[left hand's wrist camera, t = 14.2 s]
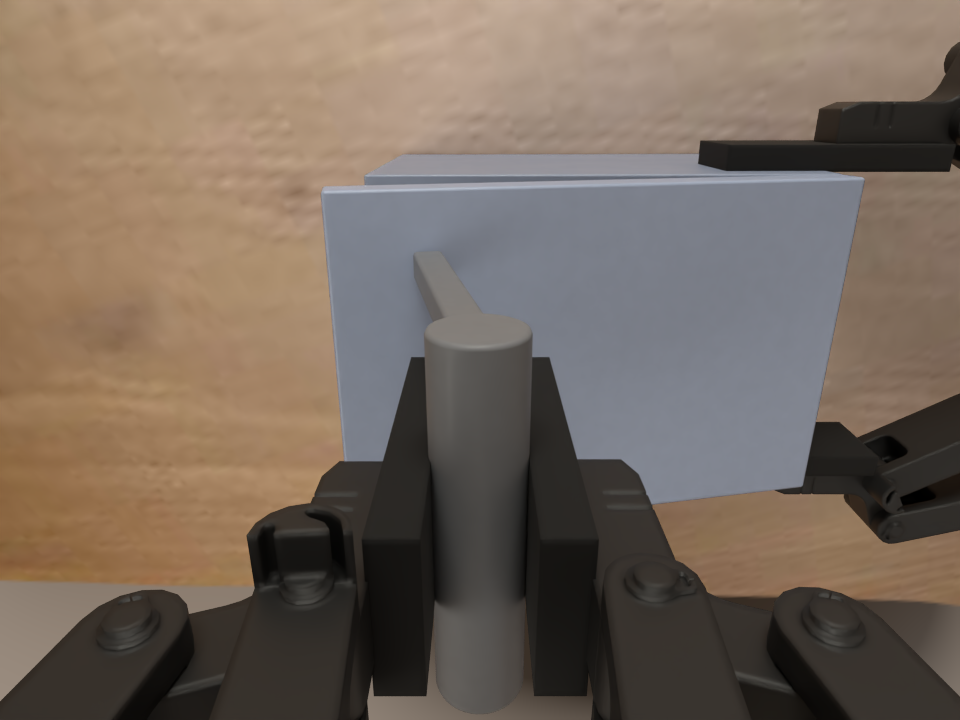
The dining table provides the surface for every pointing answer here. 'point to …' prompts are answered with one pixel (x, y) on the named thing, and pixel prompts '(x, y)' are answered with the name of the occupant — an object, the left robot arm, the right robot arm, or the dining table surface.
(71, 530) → the dining table surface
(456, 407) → the door
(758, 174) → the chest
